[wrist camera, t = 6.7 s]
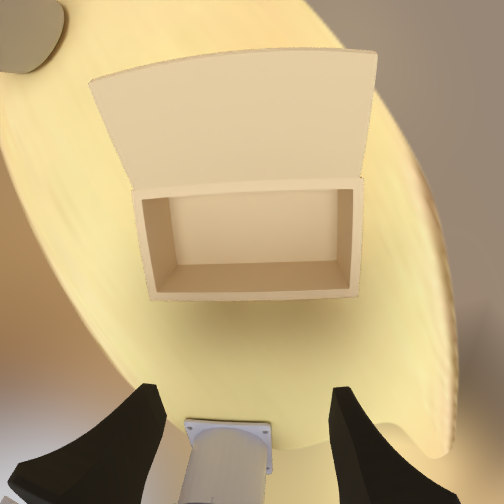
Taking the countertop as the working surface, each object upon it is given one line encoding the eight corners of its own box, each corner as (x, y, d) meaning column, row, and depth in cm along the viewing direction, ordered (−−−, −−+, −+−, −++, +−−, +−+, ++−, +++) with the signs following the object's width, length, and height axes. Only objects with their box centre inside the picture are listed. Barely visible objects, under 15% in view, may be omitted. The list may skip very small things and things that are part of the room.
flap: (377, 54, 9) (374, 51, 9) (87, 83, 10) (92, 79, 10) (359, 178, 13) (358, 172, 14) (134, 190, 14) (136, 184, 15)
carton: (342, 264, 20) (357, 296, 16) (173, 268, 21) (150, 300, 17) (343, 169, 18) (363, 178, 14) (162, 178, 19) (131, 190, 14)
